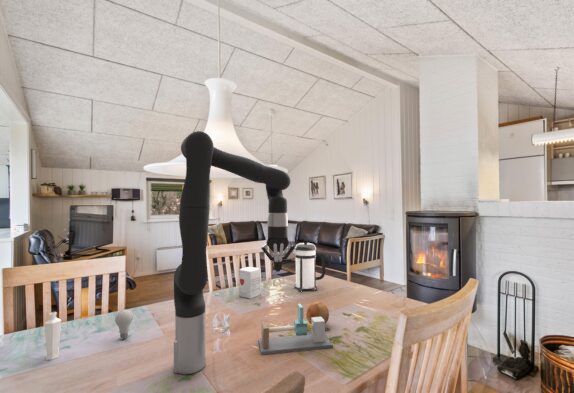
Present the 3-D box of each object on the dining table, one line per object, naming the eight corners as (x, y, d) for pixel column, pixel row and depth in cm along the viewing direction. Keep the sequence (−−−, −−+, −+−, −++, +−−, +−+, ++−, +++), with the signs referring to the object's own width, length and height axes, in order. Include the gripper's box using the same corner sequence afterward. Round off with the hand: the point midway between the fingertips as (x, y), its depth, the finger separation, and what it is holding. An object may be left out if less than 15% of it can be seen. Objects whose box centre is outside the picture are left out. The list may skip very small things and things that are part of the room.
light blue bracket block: (296, 336, 107) (296, 307, 108) (294, 331, 112) (294, 304, 112) (307, 335, 108) (307, 307, 108) (304, 330, 112) (304, 303, 112)
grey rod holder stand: (260, 354, 102) (260, 329, 102) (258, 341, 112) (258, 318, 112) (332, 347, 107) (332, 323, 107) (324, 335, 117) (324, 313, 117)
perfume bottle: (57, 359, 99) (58, 314, 100) (42, 361, 98) (42, 316, 98) (63, 352, 104) (64, 309, 104) (49, 354, 103) (49, 311, 103)
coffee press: (312, 294, 167) (312, 241, 167) (288, 290, 175) (288, 239, 176) (325, 287, 181) (325, 238, 182) (303, 283, 190) (302, 236, 190)
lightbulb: (129, 341, 112) (129, 312, 112) (112, 343, 111) (112, 313, 111) (135, 334, 118) (135, 306, 118) (118, 335, 117) (118, 307, 117)
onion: (310, 319, 132) (310, 297, 132) (332, 323, 128) (332, 300, 128) (302, 327, 123) (302, 303, 124) (325, 332, 119) (325, 307, 119)
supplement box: (238, 296, 165) (238, 269, 165) (249, 292, 172) (249, 266, 172) (250, 299, 160) (250, 271, 160) (261, 294, 167) (261, 268, 167)
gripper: (261, 226, 106) (261, 274, 106) (297, 225, 108) (297, 272, 108) (259, 224, 113) (259, 269, 113) (292, 223, 116) (292, 268, 116)
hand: (277, 271), depth 111 cm, fingers closed
